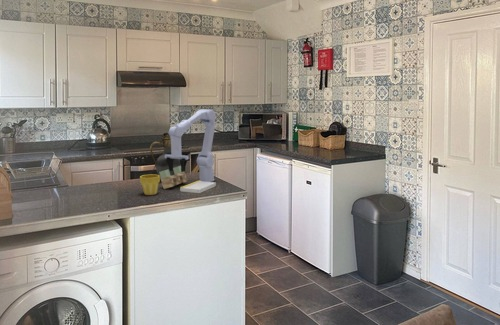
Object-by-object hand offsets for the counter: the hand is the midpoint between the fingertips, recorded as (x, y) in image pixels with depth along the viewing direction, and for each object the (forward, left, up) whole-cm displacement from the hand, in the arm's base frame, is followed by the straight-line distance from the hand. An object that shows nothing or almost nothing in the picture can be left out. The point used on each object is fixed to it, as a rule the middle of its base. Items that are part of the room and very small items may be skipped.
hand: (177, 171), depth 244 cm
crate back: (-9, -4, -3) cm, 10 cm away
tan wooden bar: (-2, -2, -9) cm, 9 cm away
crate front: (+5, -4, -3) cm, 7 cm away
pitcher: (-13, -17, -10) cm, 23 cm away
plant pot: (+19, -5, -10) cm, 22 cm away
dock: (-2, +13, -10) cm, 16 cm away
